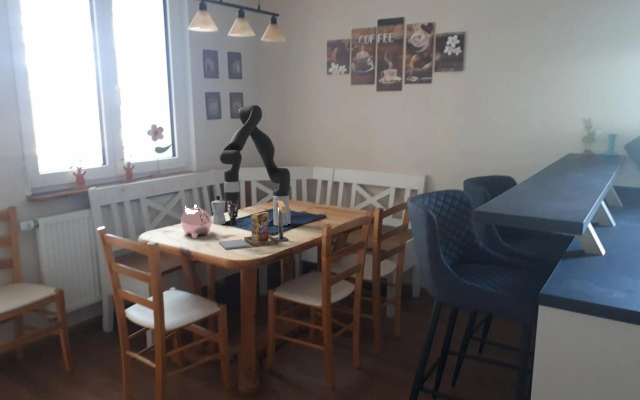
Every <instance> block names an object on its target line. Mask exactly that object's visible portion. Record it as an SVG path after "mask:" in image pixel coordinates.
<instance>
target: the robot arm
mask: <svg viewBox="0 0 640 400" xmlns="http://www.w3.org/2000/svg"><path fill="white" fill-rule="evenodd" d="M238 117H239V120H240V122H241V124H242V125H241V126H240V127H239V129H237V130H236V131H235V132H234V134H233V135H232V136H231V140H230V141H229V143H228V144H227V145H226V146H225V147H224V148H223V149H222V150H221V152H220V154H219V160H220V161H219V162H220V163H221V164H223V165H231V168H229V169H228V168H227V169H226V170H224V173H223V178H224V179H223V181H224V185H223V189H224V191H223V193H224V200H225V201H226V202H228V203H227V204H226V207H227V215H228V217H229V221H230V222H229V224H230V225H231V226H233V227H234V226H236V225H237V218H238V214H239V206H238V204H237V201H240V199H241V195H240V194H241V190H240V189H241V188H240V175H239V174H240V168H241V163H242V159H243V157H242V153H241V151H243V150H244V147H245V144H246V143H247V141H248V139H249V137H250V138H251V140H252V142H253V143H254V146H255V148H256V150H257V153H258V154H259V156H260V158H261V160H262V162H263V165H264V168H265V170H266V173H267V175H268V177H269V180H270V182H272V183H273V184H279V185H278V188H276V189H274V190H272V208H273V210H272V213H273V215H272V216H273V218H272V219H273V225H274V226H278V207H277V200H283V203H284V204H285V206H286V213H283V227H284V225H285V226H289V225H288V224H290V225H291V224H292V223H291V219H292V218H291V208H290V191H291V173H290V170H289V169H288V168H286V167H278V166H277V165H276V163H275V159H274V157H275V152H276V149H275V146H274V143H273V141H272V140H271V138H270V137H269V136H268V135H267V134H266V133H265V132H264V131H262V130H261V129H259V128H258V124H259V123H260V122H261V120H262V117H263V110H262V108H261V107H260V106H259V105H257V104H253V105H245V106H242V107H240V108H239V109H238Z"/></svg>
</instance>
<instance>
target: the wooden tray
mask: <svg viewBox="0 0 640 400" xmlns="http://www.w3.org/2000/svg"><path fill="white" fill-rule="evenodd" d="M243 238H244V239H243V240H244V241H245V242H246V243H247V244H248V245H249V247H251V248H252V247H253V248H254V247H261V246H270V245H278V243H279V242H278V241H277V239H275V238H276V237H274V236H272V235H270V234H268V241H260V242H252V235H251V236H243Z"/></svg>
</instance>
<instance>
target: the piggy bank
mask: <svg viewBox="0 0 640 400" xmlns="http://www.w3.org/2000/svg"><path fill="white" fill-rule="evenodd" d="M212 220H213V219H212V217H211V215H210V213H209V212H208V211H207V210H206V209H205V210H204V209H203V208H201V207H200V206H199V205H197V204H194V206H193V207H188V206H186V205H185V207H184V208H183V212H182V215H181V217H180V224H181V227H182V229H183V233H184V236H191V238H192V239H197V238H198V237H199V236H200V235H204V236H211V232H210V231H211V227H212V224H213V223H212Z"/></svg>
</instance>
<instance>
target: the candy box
mask: <svg viewBox="0 0 640 400" xmlns="http://www.w3.org/2000/svg"><path fill="white" fill-rule="evenodd" d="M268 235H269V212H267V211H261V212H256V213H252V214H251V236H252V240H251V241H252V242H260V241H269V238H268Z"/></svg>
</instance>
